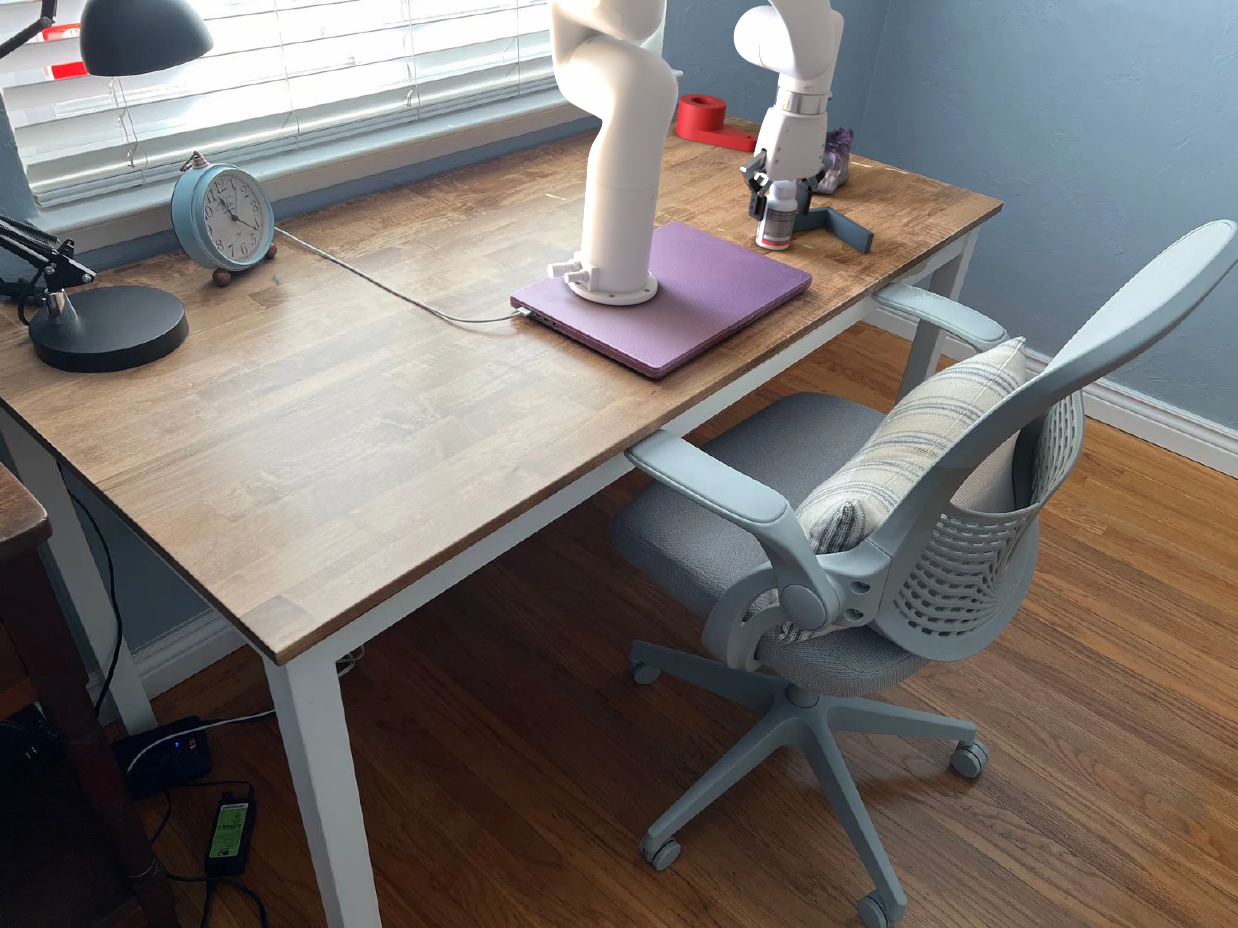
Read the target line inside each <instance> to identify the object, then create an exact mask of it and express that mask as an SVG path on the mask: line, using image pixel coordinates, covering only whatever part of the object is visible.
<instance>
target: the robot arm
mask: <svg viewBox="0 0 1238 928" xmlns="http://www.w3.org/2000/svg"><path fill="white" fill-rule="evenodd" d="M546 1H547V13H548V23H549V33H550V43H551V52H552V53H551V54H552V64H553V70H554V76H555V79H556V83H557V86H558V88H559V91H560V92H561V94H562V95H563V97H564V98H565V99H566V101H568V102H570V103H571V104H572V105H574V106H576V107H577V108H579V109H582V110H584V111H585V112H587V113H589V114H591V115H593V116H596V117H597V118H599V119H601V120H602V126H601V128H600V131H599V133H598V135H597V136H596V138H595V140H594V141H593V143H592V146H591V148H590V151H589V155H588V160H587V169H586V170H587V172H586V187H585V198H584V199H585V200H584V214H583V226H582V239H581V250H579V251H574V252H573V259H568V261H567V262H557V263H550V264H548V265H547V275H548V277H549V279H559V278H563V279H564V280H563V281H564V282H565V283H566V284H568V286H569V287H570V289H571V290H572V291H573V292H574V293H575V294H576V295H578V296H580V297H582V298H584V299H586V300H588V301H592V302H595V303H598V304H603V305H608V306H609V305H610V306H631V305H637V304H638V305H639V304H641V303H645V302H646V301H649V300H650V299H652V298H653V297H654V296H655V295H656V294H657V291H658V286H659V285H658V284H659V283H658V279H657V277H656V276H655V275H654V273H652V271H650V270H649V267H650V260H651V259H650V257H651V251H652V244H653V236H654V235H653V234H654V227H655V219H656V210H657V201H658V194H659V193H658V192H659V186H660V177H661V169H662V163H663V157H664V150H665V144H666V141H667V136H668V133H669V129H670V127H671V124H672V120H673V117H674V114H675V111H676V108H677V103H678V100H679V83H678V80H677V79H678V78H677V76H676V74H675V72H674V70H673V67H671V65H670V64H669V63H668V62H667V61H666V60H665V59H664V58H662V57H661V56H660V55H658V54H656V53H655V52H653V51H650V49H649V50H648V49H647V48H644V47H642V46H639V45H636V44H634V43H631V42H628V41H633V42H634V41H642V40H645V39H647V38H649V37H651V36H652V35H653V34H654V33H655V32H656V31H657V30H658V28H659V27H660V25H661V24H662V23H661V22H662V20H663V17H664V12H665V4H666V3H665V1H666V0H546ZM767 1H768V2H769V3H770V4H771V5H759V6H755V7H753V8H750V9H749V10H747V11H746V12H744V14H743V15H742V16H741V17H740V18H739V19H738V21H737V24H736V25H735V29H734V33H733V42H734V46H735V49H736V51H737V53H738V54H739V55H740V56H741V57H742V58H743V59H744V60H746V61H747V62H749V63H751V64H753V65H756V66H759V67H762V68H764V69H766V70H770V71H773V72H776V73H779V77H778V82H777V87H776V93H775V99H774V103H773V104H774V105H773V106H769V107H768V109H767V112H766V114H765V116H764V119H763V122H762V124H761V127H760V131H759V134H758V136H757V137H758V141H757V145H756V149H755V152H754V153H753V157H752V158H750V159H749V160H748V161H747V162H746V163H744V164H743V165H742V166H741V167H740V172H741V175H742V178H743V180H744V183H745V185H746V186H747V187H748V190H749V191H751V194H750V199H749V206H748V211H747V212H748V213H747V214H748V216H749V217H751V218H753V219H754V220H755V221H756V222H758V223H759V222H760V221H763V219H764V214H765V209H766V203H767V197H766V196H767V195H765V194H767V192H768V191H769V190H770V187H771V185H772V183H773V182H774V181H785V180H794V179H800V180H801V183H802V185H801V184H799V185H798V187H797V190H796V194H795V196H794V199H795V200H796V201H797V212H799V213H800V214H802V215H803V216H807V215H808V212H809V209H811V208H810V207H811V203H812V199H813V193H814V191H815V190H817V188H818V184H819V183H820V182H821V181H822V180H823V179H824V177H825V175H826V173H827V172H828V170H829V169H830V168H831V166H832V165H833V160H832V159H831V158H830V157H829V156H828V155H826V154H825V153H824V148H825V141H826V132H828V112H827V105H828V102H829V101H831V100H832V99H833V92H832V91H831V86H832V82H833V78H834V73H835V69H836V65H837V59H838V55H839V50H840V46H841V41H842V36H843V33H844V27H845V19H844V17H843V15H842V14H841V13H840V12H839V11H837V10H835V9H832V6H831V1H830V0H767ZM755 173H756V175H755Z"/></svg>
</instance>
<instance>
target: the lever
mask: <svg viewBox="0 0 1238 928" xmlns="http://www.w3.org/2000/svg"><path fill="white" fill-rule="evenodd" d="M727 104H728V103H727V101H725V100H724V99H723V98H720V97H717V96H713V95H708V94H702V93H701V94H700V93H688V94H683V95H681V96H680V97H679V103H678V111H677V119H676V126H675V134H676V135H677V136H678V137H680V138H683V139H685V140H689V141H692V142H698V143H701V144H707V145H713V146H717V147H723V148H726V149H727V148H728V149H733V150H738V151H744V152H749V153H755V149H756V145H757V141H758V137H759V136H756V135H754V134H751V133H749V132H747V131H744V130H741V129H738V128H736V127H734V126H731V125H728V124H726V123H725V118H726V110H727Z"/></svg>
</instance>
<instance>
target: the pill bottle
mask: <svg viewBox="0 0 1238 928" xmlns="http://www.w3.org/2000/svg"><path fill="white" fill-rule="evenodd" d="M796 189H797V186H796V185H795V184H794V183H792V182H789V181H774V182H773V183H772V185H771V186H770V188H769V193H768V194H767V195H765V196H766V197H767V203H766V209H765V214H764V219H763V221H760V222H758V226H757V231H756V237H755V242H756V244H757V245H758V246H760V247H761V248H764V249H766V250H767V249H768V250H771V251H772V250H773V251H782V250H786V249H787V248H789V246H790V243H791V239H792V234H793V232H792V229H793V224H794V219H795V215H796V211H797V201H796V200H795V195H796Z"/></svg>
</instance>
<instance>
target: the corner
mask: <svg viewBox="0 0 1238 928" xmlns="http://www.w3.org/2000/svg"><path fill="white" fill-rule="evenodd" d="M816 229H825V230H826V231H828V232H830V233H831V234H832V235H835V236H836V237H838V238H839V239H841V240H843V241H844V242H846V243H847V244H849V245H850V246H852V247H853V248H855V249H857V250H858V251H860V252H861V253H863V254H867V253H870V252H871V248H872V244H873V241H874V237H875V233H874V232H872V231H871V230H869V229H868V228H866V227H865V226H863V225H861V224H859V223H858V222H856V221H854V220H853V219H851V218H849V217H847V216H846V215H844V214H843V213H841V212H839V211H838V210H836V209H834V208H833V207H831V206H829V205H827V206H820V207H813V208H809V212H808V215H807V216H803V215H802V214H800V213H799V212H797V211H796V215H795V219H794V224H793V229H792V233H793V232H801V231H809V230H816Z"/></svg>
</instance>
